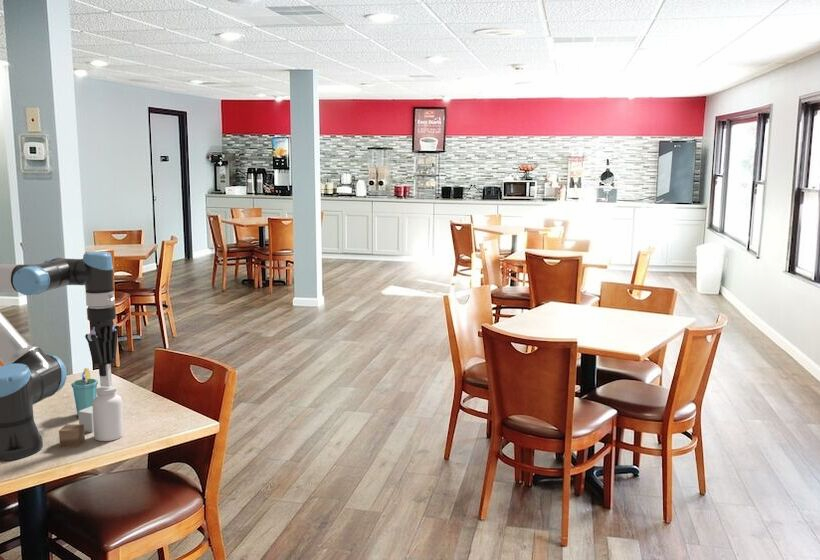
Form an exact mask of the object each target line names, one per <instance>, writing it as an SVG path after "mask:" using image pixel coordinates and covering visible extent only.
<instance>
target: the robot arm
mask: <svg viewBox="0 0 820 560" xmlns="http://www.w3.org/2000/svg"><path fill="white" fill-rule="evenodd" d="M113 265H114V264H113V258H112V254H111V253H110V252H109V251H101V250H100V251H88V252H87V251H86V252H85V253H83V256H82V258H61V257H55V258H47V259H45V260H44V262H42V263H37V264H36V263H35V264H20V263H19V264H12V263H11V264H10V263H9V264H8V263H7V264H6V263H3V264H2V263H0V293H20V294H22V295H24V296H33V295H40V294H42V293H45V292H49V291H51V290H52V291H53V290H54V289H58V288H61V287H65V286H85V287H84V288H85V303H86V304H85V305H86V306H87V308H86V316H87V321H89V322H90V324H91V325H90V332H89V333H86V334H85V335H84V338H85V339H86V341H87V343H88V348H89V352H90V356H91V360H92V364H93V365H95V366H98V373H99V374H98V375H99V385H100V386H99V387H101V386H102V387H110V386H112V385H113V379H112V364H114V363H115V359H116V357H117V347H118V346H117V345H118V336H119V335H118V334H119V330H120V326H119V325H115V323H114V320H115V319H116V317H117V315H116V314H117V312H116V306H115V304H116V299H115V297H116V296H115V287H114V266H113ZM0 362H1V363H2V364H3V365H0V462H3V461H5V462H6V461H12V460H13V461H14V460H17V459H22V458H25V457H29V456H32V455H34V454H35V453H37V452H39V451H40V450H41V449H43V447H44V443H43V442H44V441H43V437H42V435H41V434H40V432H39V430H38V426H37V425H36V422H35V418H34V405H35V404H37V403H39V402H41V401H43V400H45V399H47V398H50V397H52V396H54V395H55V394H56V393H57V392H59V391H61V390H62V388H63V387H64V386H65V384H66V381H67V367H66V365H65V363H64V362H63V361H62V359H61V358H59V357H58V356H57V355H55V354H54V355H51V354H46V353H45V352H44V351H43V350H42V349H41V347H39V346H34V345H33V346H32V345H31V344H30V343H28V342H27V341H26V339H25V338H24V337H23V336H22V335H21V333H19V331H18V330H17V329H16V328H15V327H14V326H13V325H12V323H11V322H10V321H9V320H8V318H6V317H5V316H4V315H3V313H2V312H1V311H0Z"/></svg>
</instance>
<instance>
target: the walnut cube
mask: <svg viewBox="0 0 820 560" xmlns="http://www.w3.org/2000/svg"><path fill="white" fill-rule="evenodd" d="M58 436H59V437H58V438H59V448H80V446H81V445H82V444H83V443H84V442H85V441H86V439H85V436H86V435H85V431H84V424H77V423H75V424H73V423H72V424H71V423H70V424H65V425H64V426H62V427H61V428H60V429H59V430H58Z"/></svg>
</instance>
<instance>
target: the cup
mask: <svg viewBox="0 0 820 560" xmlns="http://www.w3.org/2000/svg"><path fill="white" fill-rule="evenodd" d="M81 377H82V379H77V380H75V381H73V382H72V383H71V384H70V385H71V387H72V390H73V391H72V392H73V396H74V402H75V407H76V414H77V416H78V417H79V414H78V411H80V410H83V409H85V408H88V407H90V406H93V404H92V403H93V400H94V398H96V397H97V388H98V384H99V381H98V380H97V379H94V378H91V372H90V369H89V368H87V367H86V368H84V369H83V372H82V375H81Z"/></svg>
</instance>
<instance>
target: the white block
mask: <svg viewBox="0 0 820 560" xmlns="http://www.w3.org/2000/svg"><path fill="white" fill-rule="evenodd" d="M78 414H79V416H78V423H79V424H84V432H87V433H92V434H94V423H93V406H90V407H88V408H85V409H83V410H80V411H78Z"/></svg>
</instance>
